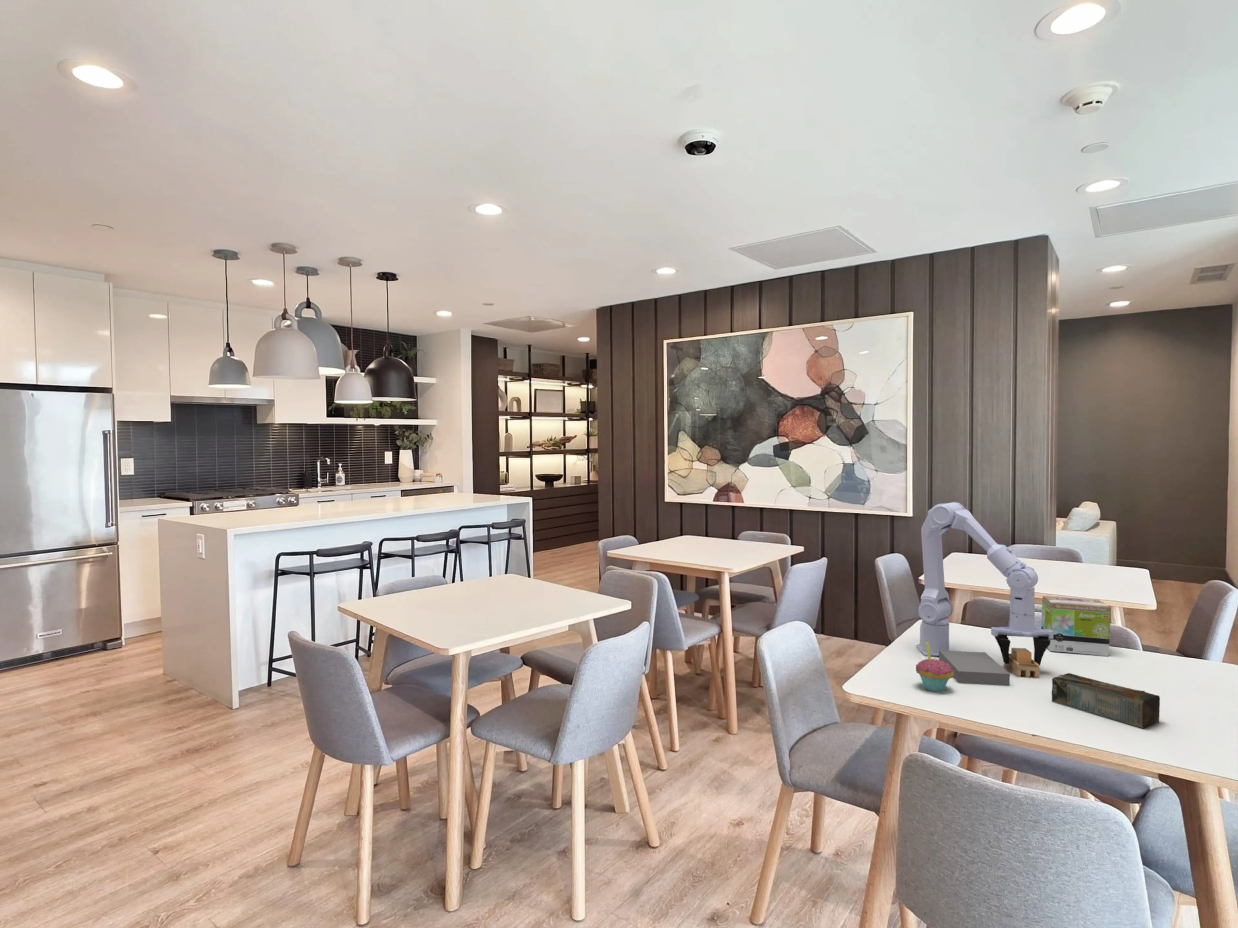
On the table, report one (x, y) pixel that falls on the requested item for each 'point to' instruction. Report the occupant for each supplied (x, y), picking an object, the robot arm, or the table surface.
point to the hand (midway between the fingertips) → (1021, 663)
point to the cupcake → (934, 672)
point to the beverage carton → (1106, 700)
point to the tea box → (1077, 625)
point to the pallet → (1023, 668)
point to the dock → (975, 668)
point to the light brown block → (1021, 655)
